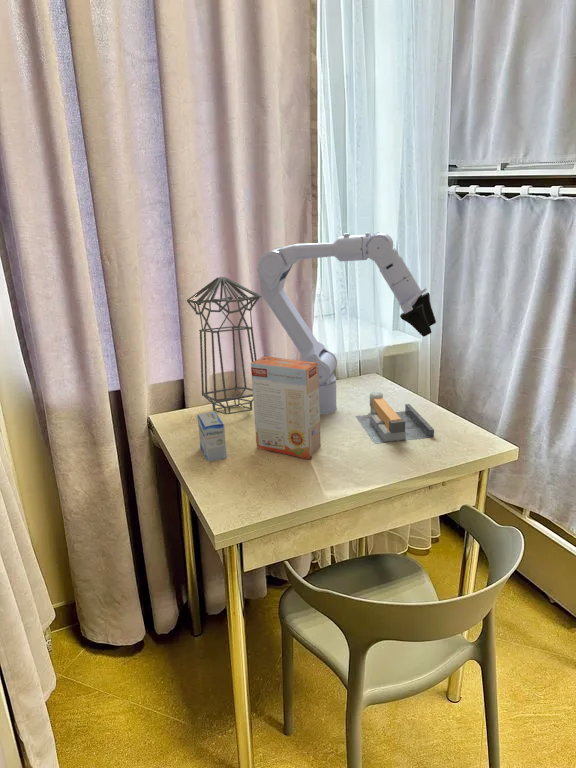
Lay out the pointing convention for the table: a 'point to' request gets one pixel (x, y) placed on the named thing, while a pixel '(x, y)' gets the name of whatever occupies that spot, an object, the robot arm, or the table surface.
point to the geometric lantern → (214, 286)
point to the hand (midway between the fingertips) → (429, 329)
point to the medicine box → (212, 436)
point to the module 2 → (390, 434)
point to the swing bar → (386, 413)
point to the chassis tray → (413, 425)
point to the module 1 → (376, 421)
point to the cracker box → (286, 406)
